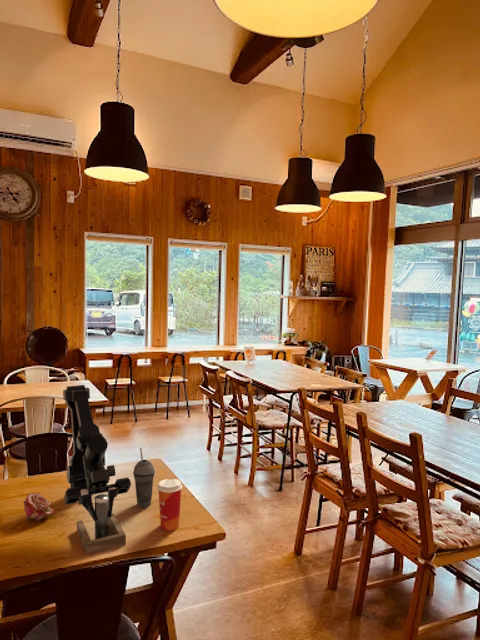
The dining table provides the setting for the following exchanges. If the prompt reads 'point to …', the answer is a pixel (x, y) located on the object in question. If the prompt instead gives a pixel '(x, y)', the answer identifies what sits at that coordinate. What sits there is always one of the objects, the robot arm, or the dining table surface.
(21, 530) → the dining table surface
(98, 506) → the pepper mill
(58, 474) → the dining table surface
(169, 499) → the paper cup
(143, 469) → the beverage cup
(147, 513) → the dining table surface
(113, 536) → the frame
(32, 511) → the flower
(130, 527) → the dining table surface
